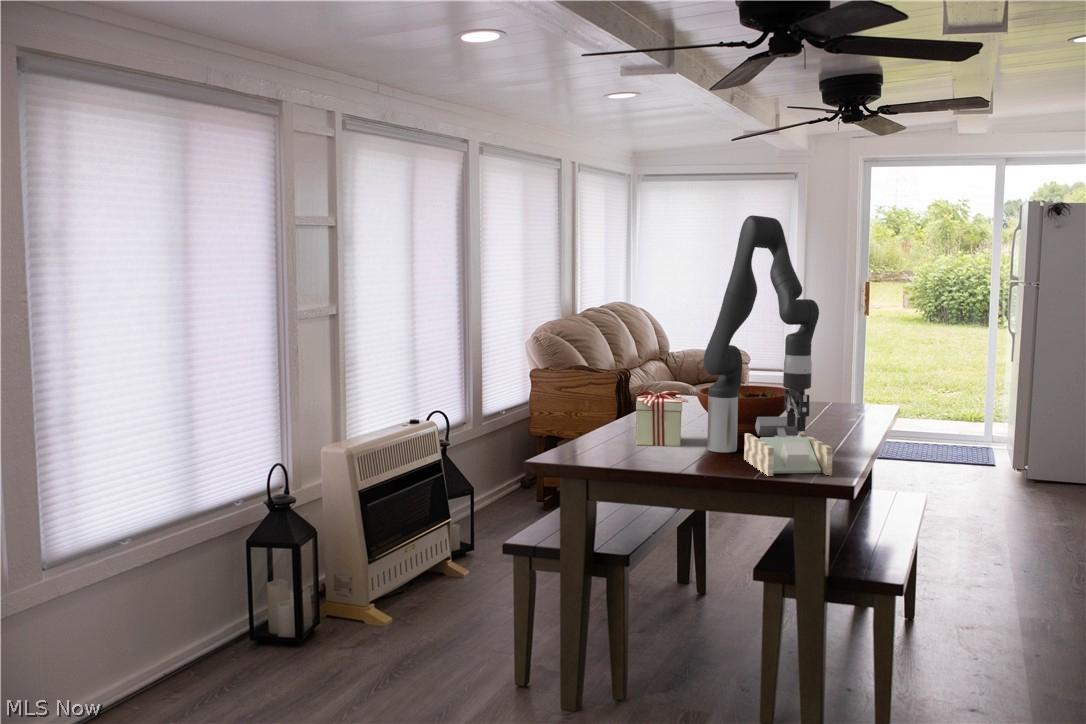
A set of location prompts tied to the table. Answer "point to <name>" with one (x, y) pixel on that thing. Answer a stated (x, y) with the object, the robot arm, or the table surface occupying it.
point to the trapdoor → (780, 428)
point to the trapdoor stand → (764, 454)
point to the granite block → (794, 455)
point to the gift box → (658, 418)
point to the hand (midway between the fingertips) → (795, 428)
